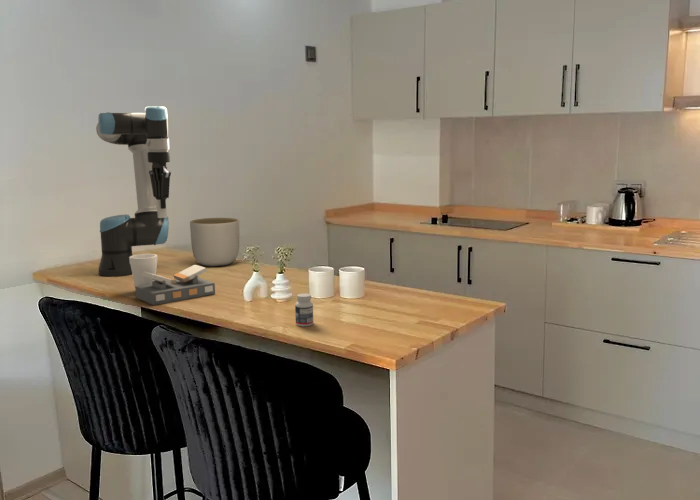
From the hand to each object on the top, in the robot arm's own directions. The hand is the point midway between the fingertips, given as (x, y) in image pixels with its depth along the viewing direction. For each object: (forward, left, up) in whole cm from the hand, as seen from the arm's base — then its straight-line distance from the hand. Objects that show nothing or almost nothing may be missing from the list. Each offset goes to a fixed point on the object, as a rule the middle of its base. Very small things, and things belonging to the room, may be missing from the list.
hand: (162, 217), depth 234 cm
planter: (-29, +37, -27) cm, 54 cm away
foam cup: (-1, -8, -27) cm, 28 cm away
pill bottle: (+70, +11, -27) cm, 76 cm away
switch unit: (+12, -2, -26) cm, 29 cm away
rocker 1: (+12, -8, -20) cm, 24 cm away
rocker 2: (+12, +4, -20) cm, 23 cm away
